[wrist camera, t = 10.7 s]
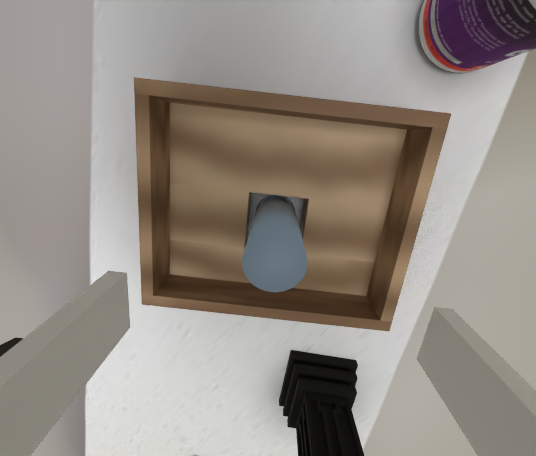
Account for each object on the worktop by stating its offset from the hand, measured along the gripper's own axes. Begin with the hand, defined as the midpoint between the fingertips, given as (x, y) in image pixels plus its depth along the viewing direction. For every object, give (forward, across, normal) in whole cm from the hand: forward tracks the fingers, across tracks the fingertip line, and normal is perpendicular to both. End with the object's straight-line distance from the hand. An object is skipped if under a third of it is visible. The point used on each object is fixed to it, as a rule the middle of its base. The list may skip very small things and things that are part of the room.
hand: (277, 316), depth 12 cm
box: (+17, 0, +1) cm, 17 cm away
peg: (+17, 0, 0) cm, 17 cm away
